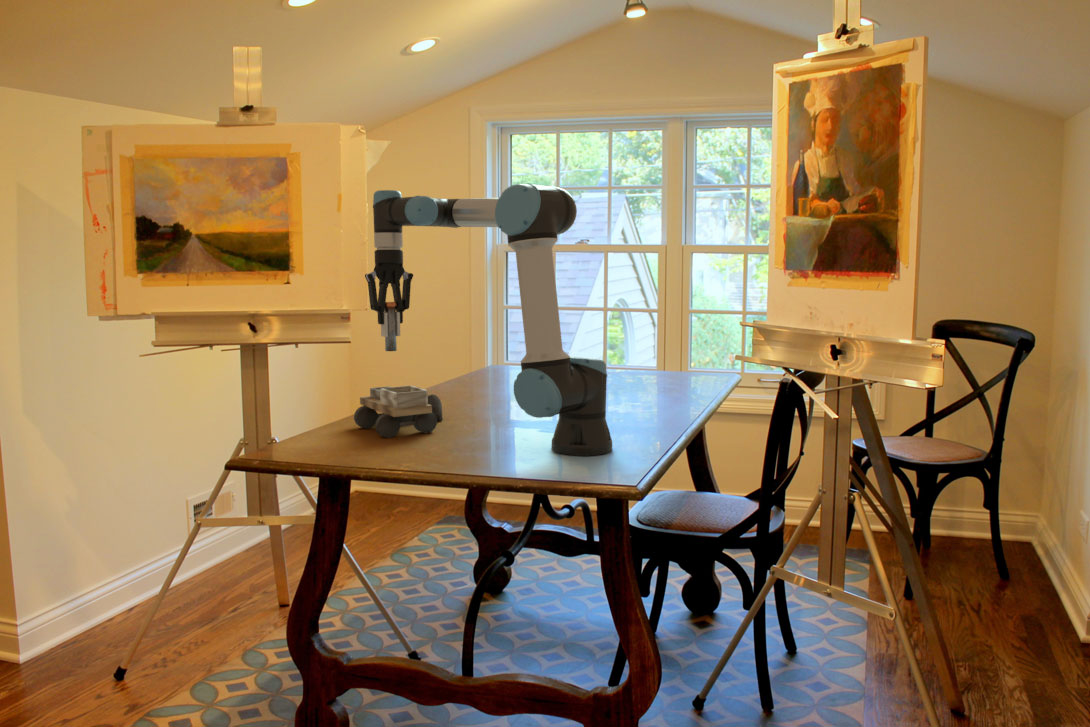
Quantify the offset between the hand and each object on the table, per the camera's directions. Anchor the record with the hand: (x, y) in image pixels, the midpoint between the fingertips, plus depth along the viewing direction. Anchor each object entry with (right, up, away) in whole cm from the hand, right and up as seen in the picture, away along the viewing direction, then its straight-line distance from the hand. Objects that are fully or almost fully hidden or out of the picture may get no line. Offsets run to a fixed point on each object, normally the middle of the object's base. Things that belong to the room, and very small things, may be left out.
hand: (390, 335), depth 238 cm
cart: (+1, -26, +1) cm, 26 cm away
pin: (0, -4, +1) cm, 4 cm away
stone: (+8, -24, +17) cm, 30 cm away
